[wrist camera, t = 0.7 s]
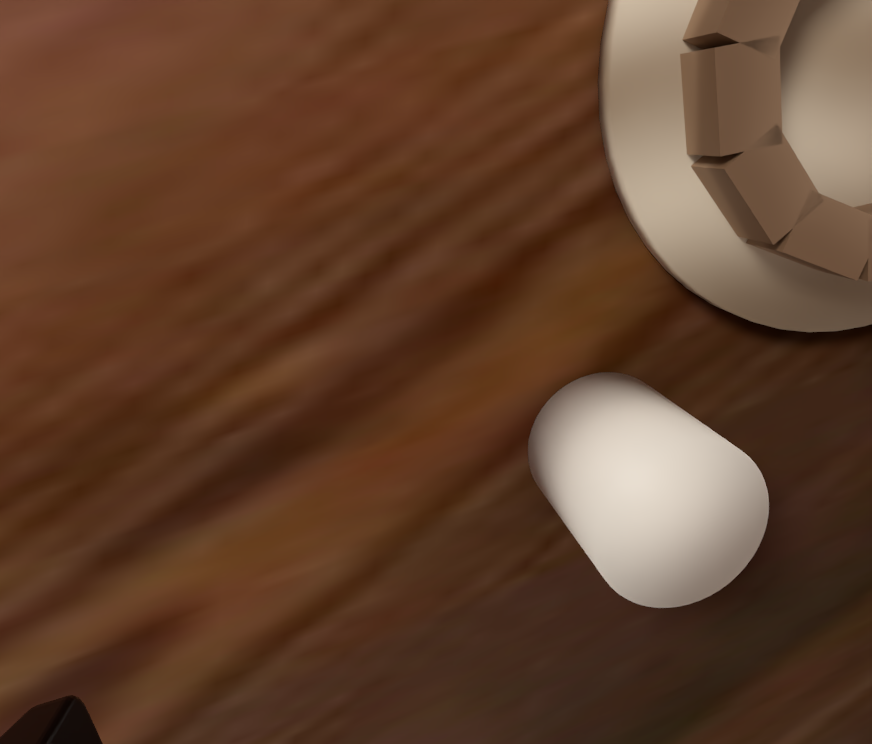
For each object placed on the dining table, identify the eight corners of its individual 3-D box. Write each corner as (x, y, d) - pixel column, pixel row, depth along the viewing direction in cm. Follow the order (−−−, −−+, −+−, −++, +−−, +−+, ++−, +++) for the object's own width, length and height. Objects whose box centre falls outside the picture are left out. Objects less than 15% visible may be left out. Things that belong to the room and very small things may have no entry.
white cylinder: (675, 490, 24) (771, 580, 19) (538, 527, 23) (603, 628, 18) (663, 356, 22) (765, 417, 17) (517, 392, 22) (582, 464, 17)
